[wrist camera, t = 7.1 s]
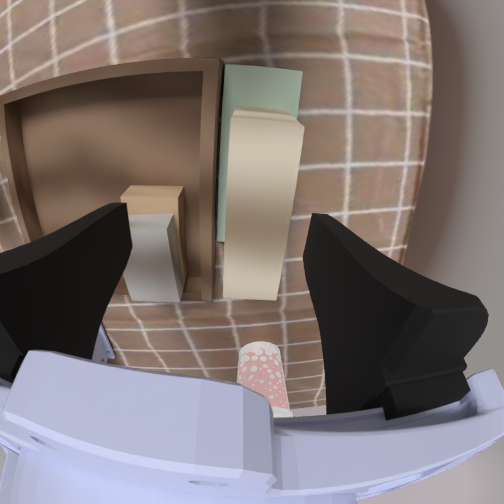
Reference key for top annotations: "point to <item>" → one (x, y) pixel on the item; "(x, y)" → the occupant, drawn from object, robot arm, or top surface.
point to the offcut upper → (154, 259)
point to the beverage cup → (264, 375)
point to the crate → (118, 148)
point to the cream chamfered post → (259, 199)
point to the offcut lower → (160, 209)
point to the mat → (252, 94)
